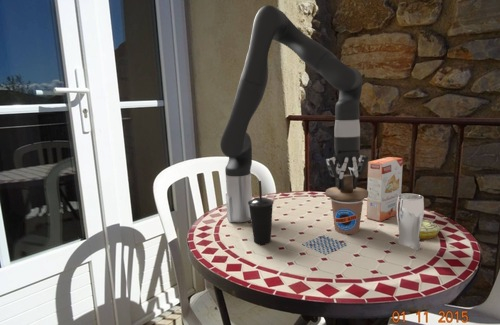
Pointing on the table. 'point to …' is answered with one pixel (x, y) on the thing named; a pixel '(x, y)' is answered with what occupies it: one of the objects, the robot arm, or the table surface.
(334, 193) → the walnut lid
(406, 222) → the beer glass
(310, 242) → the woven mat
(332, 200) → the coffee cup
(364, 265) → the table surface
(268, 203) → the drinking cup
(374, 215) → the cracker box
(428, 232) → the decorated donut
